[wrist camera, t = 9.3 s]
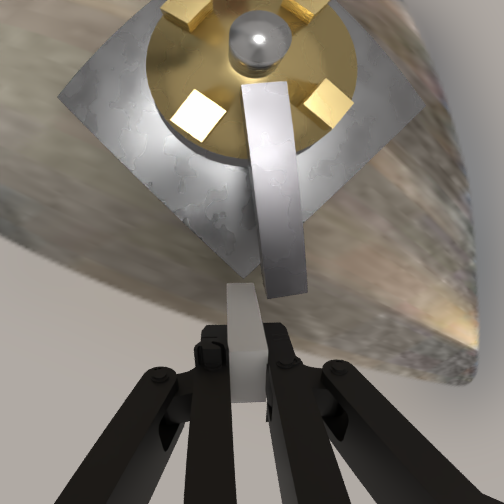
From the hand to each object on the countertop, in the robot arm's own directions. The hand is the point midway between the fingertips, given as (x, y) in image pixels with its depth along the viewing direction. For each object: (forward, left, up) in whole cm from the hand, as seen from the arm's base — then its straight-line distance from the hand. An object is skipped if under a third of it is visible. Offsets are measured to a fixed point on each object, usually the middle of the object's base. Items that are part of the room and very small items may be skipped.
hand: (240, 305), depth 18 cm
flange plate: (-9, +10, -7) cm, 15 cm away
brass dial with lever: (-7, +8, -3) cm, 11 cm away
